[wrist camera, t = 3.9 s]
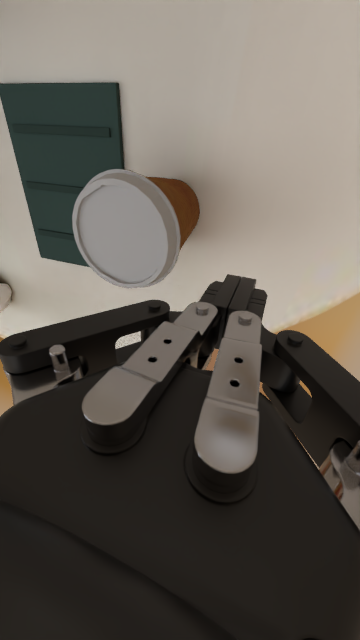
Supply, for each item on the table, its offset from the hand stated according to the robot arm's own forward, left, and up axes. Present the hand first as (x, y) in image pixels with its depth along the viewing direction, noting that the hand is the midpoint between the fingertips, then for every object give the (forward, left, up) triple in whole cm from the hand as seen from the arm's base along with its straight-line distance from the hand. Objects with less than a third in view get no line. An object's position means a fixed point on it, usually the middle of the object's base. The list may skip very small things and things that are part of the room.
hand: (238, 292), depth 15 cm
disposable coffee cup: (-11, 0, -18) cm, 20 cm away
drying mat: (-24, +1, -17) cm, 30 cm away
